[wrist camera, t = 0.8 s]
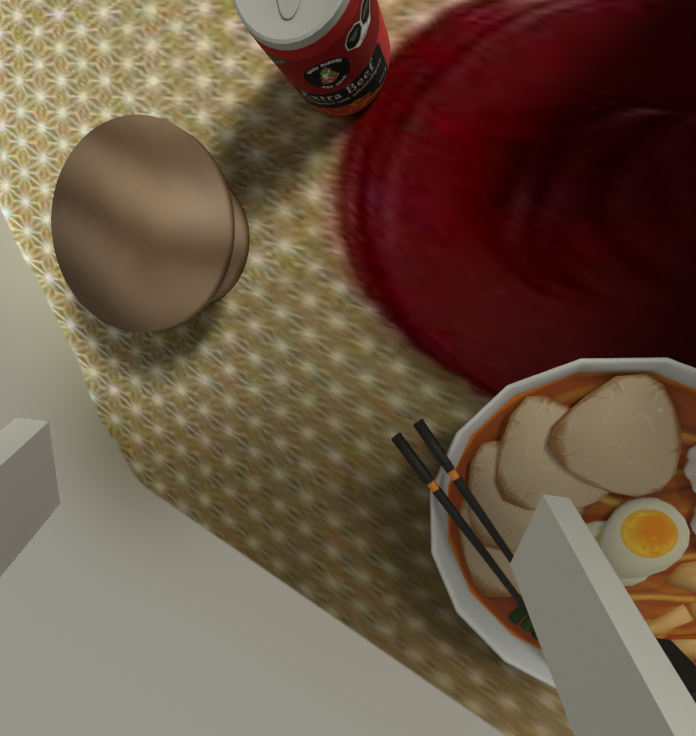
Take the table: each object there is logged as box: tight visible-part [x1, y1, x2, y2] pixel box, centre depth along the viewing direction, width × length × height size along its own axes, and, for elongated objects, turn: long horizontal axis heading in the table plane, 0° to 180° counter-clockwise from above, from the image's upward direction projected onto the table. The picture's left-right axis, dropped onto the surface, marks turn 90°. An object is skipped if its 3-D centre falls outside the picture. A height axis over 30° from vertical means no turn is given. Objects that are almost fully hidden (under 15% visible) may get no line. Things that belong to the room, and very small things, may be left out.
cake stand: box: [51, 115, 249, 332], centre depth 38 cm, size 16×16×7 cm
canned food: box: [233, 0, 390, 116], centre depth 30 cm, size 8×8×11 cm
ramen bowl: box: [392, 358, 696, 690], centre depth 31 cm, size 25×23×8 cm
